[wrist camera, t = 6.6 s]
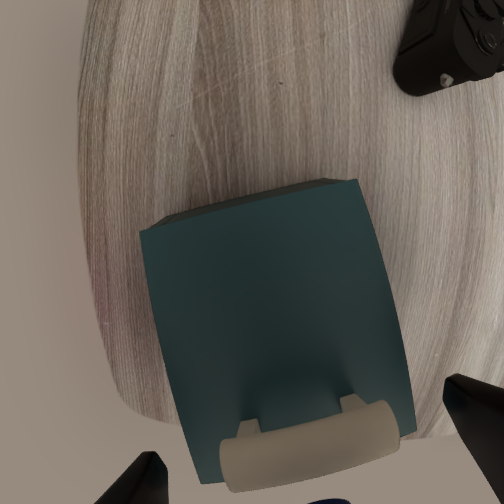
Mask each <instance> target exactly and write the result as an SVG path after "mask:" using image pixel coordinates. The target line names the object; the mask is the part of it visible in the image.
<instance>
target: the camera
mask: <svg viewBox="0 0 504 504" xmlns="http://www.w3.org/2000/svg"><path fill="white" fill-rule="evenodd" d="M502 71H504V0H415V3H414V6H413V9H412V12H411V16H410V19H409V22H408V25H407V28H406V31H405V34H404V37H403V40H402V43H401V46H400V49H399V52H398V56H397V59H396V61H395V64H394V77H395V79H396V82H397V83H398V84H399V86H400V87H401V89H403V90H404V91H405V92H407V93H408V94H411V95H414V96H423V95H427V94H430V93H433V92H436V91H439V90H442V89H445V88H448V87H451V86H454V85H458V84H461V83H464V82H466V81H469V80H471V81H478V80H482V79H486V78H489V77H492V76H493V75H494V74H495V73H496V72H497V73H499V72H502Z"/></svg>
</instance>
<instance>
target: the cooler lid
mask: <svg viewBox="0 0 504 504" xmlns="http://www.w3.org/2000/svg"><path fill="white" fill-rule="evenodd" d="M139 233H140V240H141V247H142V253H143V259H144V266H145V272H146V277H147V283H148V288H149V294H150V299H151V304H152V309H153V314H154V319H155V324H156V328H157V333H158V338H159V342H160V346H161V351H162V355H163V359H164V363H165V367H166V371H167V375H168V379H169V383H170V387H171V390H172V394H173V398H174V401H175V405H176V409H177V412H178V415H179V419H180V422H181V426H182V428H183V432H184V435H185V439H186V442H187V444H188V448H189V451H190V454H191V457H192V460H193V463H194V466H195V469H196V471H197V474H198V477H199V480H200V483H201V484H210V483H219V482H225V483H226V485H227V487H228V488H229V490H230V491H231V492H233V493H237V492H244V491H252V490H258V489H264V488H270V487H276V486H281V485H286V484H290V483H295V482H299V481H304V480H308V479H312V478H317V477H320V476H324V475H327V474H331V473H335V472H338V471H342V470H345V469H349V468H352V467H355V466H358V465H361V464H364V463H367V462H370V461H372V460H376V459H379V458H381V457H384V456H387V455H389V454H392V453H394V452H396V451H397V450H398V449H399V445H400V437H403V436H405V435H407V434H410V433H412V432H415V431H417V426H416V417H415V410H414V403H413V396H412V389H411V383H410V377H409V371H408V365H407V360H406V355H405V350H404V344H403V340H402V335H401V330H400V325H399V321H398V317H397V312H396V308H395V304H394V300H393V296H392V292H391V288H390V284H389V280H388V276H387V273H386V269H385V265H384V262H383V258H382V255H381V251H380V248H379V244H378V241H377V238H376V235H375V231H374V228H373V225H372V222H371V219H370V216H369V213H368V210H367V207H366V204H365V201H364V198H363V195H362V192H361V189H360V186H359V183H358V181H357V179H352V180H348V181H343V182H338V183H333V184H328V185H324V186H319V187H314V188H310V189H305V190H301V191H296V192H292V193H287V194H283V195H279V196H274V197H270V198H266V199H261V200H257V201H253V202H249V203H245V204H241V205H237V206H233V207H229V208H225V209H221V210H217V211H213V212H209V213H205V214H201V215H197V216H193V217H190V218H186V219H182V220H178V221H175V222H171V223H167V224H164V225H160V226H156V227H153V228H149V229H146V230H142V231H140V232H139Z"/></svg>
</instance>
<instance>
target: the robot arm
mask: <svg viewBox="0 0 504 504" xmlns="http://www.w3.org/2000/svg"><path fill="white" fill-rule="evenodd" d="M443 402H444V405H445V407H446V409H447V411H448V413H449V415H450V417H451V419H452V421H453V423H454V425H455V427H456V429H457V431H458V433H459V435H460V437H461V439H462V440H463V442H464V444H465V445H466V447H467V448H468V450H469V451H470V453H471V455H472V456H473V458H474V459H475V461H476V463H477V464H478V466H479V467H480V469H481V471H482V472H483V474H484V476H485V477H486V479H487V481H488V482H489V484H490V486H491V487H492V489H493V491H494V492H495V494H496V496H497V498H498V499H499V501H500V503H501V504H504V389H503V388H500V387H497V386H494V385H491V384H488V383H485V382H482V381H479V380H476V379H473V378H470V377H467V376H464V375H461V374H458V373H456V374H453V375H451V376H449V377H447V378H446V379H445V383H444V390H443ZM94 504H169V498H168V471H167V467H166V465H165V464H164V463H163V461H162V460H161V458H160V457H159V455H158V454H157V453H156V452H155V451H146V452H142V453H141V454H140V455H139V456H138V457H137V458H136V460H135V461H134V462H133V463H132V464H131V465H130V466H129V467H128V468H127V470H126V471H125V472H124V473H123V474H122V475H121V476H120V477H119V478H118V479H117V480H116V481H115V482H114V483H113V485H111V486H110V488H109V489H108V490H107V491H106V492H105V493H104V494H103V495H102V496H101V497H100V498H99V499H98V500H97V501H96V502H95V503H94Z"/></svg>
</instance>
